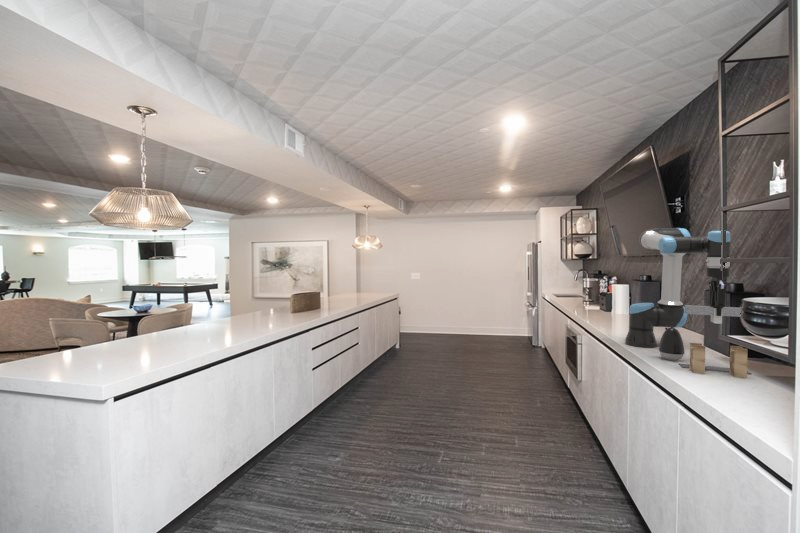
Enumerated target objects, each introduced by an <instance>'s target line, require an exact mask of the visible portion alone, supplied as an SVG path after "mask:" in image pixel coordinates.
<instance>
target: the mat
mask: <svg viewBox="0 0 800 533" xmlns="http://www.w3.org/2000/svg"><path fill="white" fill-rule="evenodd" d="M678 365H679V366H680V367H681V368H682V369H687V370H688V369H689V365H690V363H680V362H679V363H678ZM705 371H711V372H720V373H721V372H723V373H729V371H730V367H724V366H723V367H722V366H721V367H720V366H711V365H705ZM747 375H753V373H752V372H750V371H749V370H747Z"/></svg>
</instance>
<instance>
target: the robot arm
mask: <svg viewBox="0 0 800 533" xmlns="http://www.w3.org/2000/svg"><path fill="white" fill-rule="evenodd" d="M721 231H722V230H711V231H709V232H708V233H707V236H692V235H691V233H690V232H689V230H687V228H683V227H682V228H681V227H671V228H670V227H669V228H668V227H666V228H665V227H662V228H661V227H660V228H657V227H655V228H649V229H647V230H644V231H643V232H641V234H640V236H639V238H638V241H639V245H640V246H641V247H643V248H644V249H648V250H654V251H655V250H657V251H659V254H661V255H662V275H661V291H660V292H661V293H660V294H661V295H660V296H661V297H660V300H659V301H657V305H655V303H654V302H638V303H632V304H630V306H629V311H628V314H629V315H628V316H629V318H628V319H629V321H628V322H629V323H628V332H627V334H626V336H625V340H624V342H625V343H626V344H625V343H624V344H625V345H627V344H628V346H631V345H632V346H633V347H638V348H657V346H658V343H657V339H656V336H655V332H654V327H656V328H657V327H658V328H675V329H677V328H678V329H679V328H682V327H683V326H685V324H686V323H687V319H688V314H686V313H685V305H684V303H683V302H682V301H681V289H682V269H683V268H682V267H683V266H682V265H683V257H684V256H685V255H686V254H701V255H702V254H703V255H707V256H706V258H707V259H705V262H707V263H706V267H707V268H706V277H708V278H711V280H710V281H709V282H708V286H709V299H708V300H709V302H708V304H709V306H715V307H713V308H714V315H710V322H711V323H713V324H718V325H719V324H720V325H723V316H722V308H723V307H726V291H727V284H726V283H725V284H724V282H725V281H724V278H729V277H730V266H731V264H730V262H731V261H730V262H727V263H725V266H724V265H723V268H724V267H725V272H724V269H723V280H722V271H720V267H721V264H720V259H721V245H722V241H721ZM725 231H726V245H727V257H728V258H730V259H731V256H730V254H731V232H730V231H728V230H725ZM632 346H631V347H632Z"/></svg>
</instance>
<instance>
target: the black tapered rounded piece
mask: <svg viewBox="0 0 800 533" xmlns="http://www.w3.org/2000/svg"><path fill="white" fill-rule="evenodd" d="M664 329H665V330H664V332H663V333H662V336H661V338H660V341H659V346H658V352H659V355H660V356H661V357H662V358H663V359H665V360H666V361H671V362H673V361H674V362H676V361H677V362H678V361H680V360H682V358H684V355H685V352H686V351H685V350H686V349H685V344H684V339H683V338H682V335H681V332H680V331H679V330H678V329H677V328H671V327H664Z"/></svg>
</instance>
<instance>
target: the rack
mask: <svg viewBox="0 0 800 533" xmlns="http://www.w3.org/2000/svg"><path fill="white" fill-rule="evenodd" d="M748 352H749V351H748V348H744V347H743V346H740V345H739V346H738V345H729V368H730V371H729V372H728V373H729V374H730V375H732V376H733V377H734V378H744V379H747V378H748V374H747V371H748ZM689 364H690V365H689V371H691V373H693V374H701V375H702V374H703V375H705V374H706V373H705V372H706V370H705V366H706V345H703V344H702V343H700V342H698V343H697V342H690V343H689Z"/></svg>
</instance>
